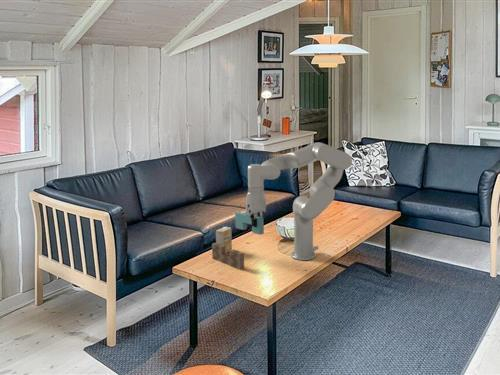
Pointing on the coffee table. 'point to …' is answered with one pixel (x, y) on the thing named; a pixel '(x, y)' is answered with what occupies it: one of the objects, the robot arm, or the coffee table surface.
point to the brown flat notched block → (228, 256)
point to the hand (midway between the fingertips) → (256, 225)
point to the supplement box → (224, 238)
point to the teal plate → (243, 220)
